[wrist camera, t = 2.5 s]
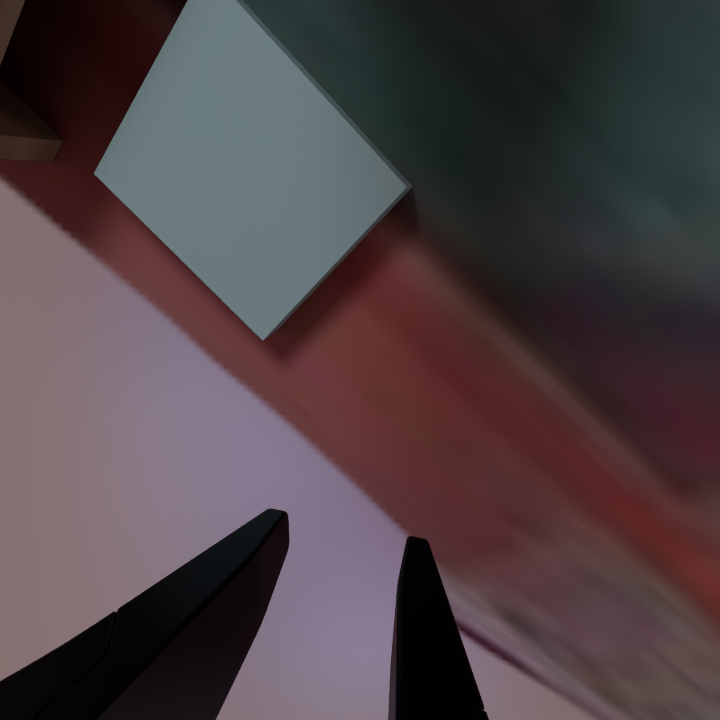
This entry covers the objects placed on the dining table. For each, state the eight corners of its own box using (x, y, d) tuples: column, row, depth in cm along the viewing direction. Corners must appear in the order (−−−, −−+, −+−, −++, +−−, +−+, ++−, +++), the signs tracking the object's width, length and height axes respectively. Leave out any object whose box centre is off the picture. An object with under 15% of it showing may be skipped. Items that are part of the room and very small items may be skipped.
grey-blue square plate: (414, 186, 18) (407, 186, 16) (282, 326, 22) (262, 340, 20) (236, -8, 17) (205, -33, 15) (129, 174, 21) (93, 173, 19)
